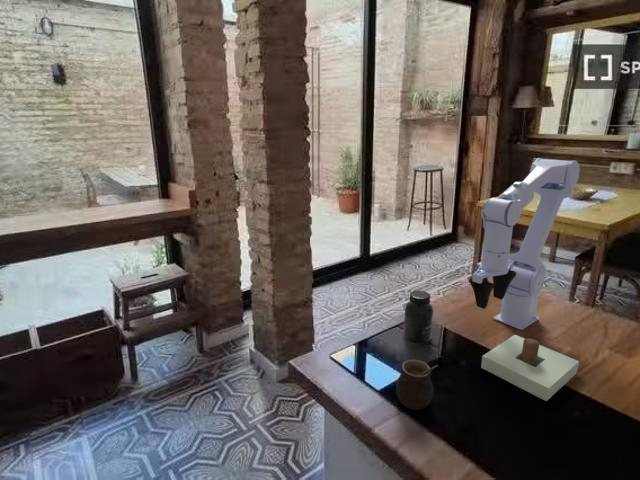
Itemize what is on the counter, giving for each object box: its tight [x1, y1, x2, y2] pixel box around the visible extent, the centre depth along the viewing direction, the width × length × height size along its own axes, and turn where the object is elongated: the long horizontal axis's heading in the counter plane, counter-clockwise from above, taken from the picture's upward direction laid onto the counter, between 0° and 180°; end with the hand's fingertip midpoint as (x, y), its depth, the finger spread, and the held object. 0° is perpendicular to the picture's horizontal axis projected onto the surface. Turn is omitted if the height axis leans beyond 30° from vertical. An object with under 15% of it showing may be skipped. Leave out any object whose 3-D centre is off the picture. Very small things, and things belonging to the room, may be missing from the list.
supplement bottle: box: [403, 290, 434, 345], centre depth 99 cm, size 7×7×12 cm
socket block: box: [480, 334, 580, 402], centre depth 87 cm, size 14×14×3 cm
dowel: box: [521, 337, 540, 367], centre depth 86 cm, size 3×3×7 cm
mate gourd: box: [395, 359, 439, 411], centre depth 77 cm, size 7×8×10 cm
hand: (489, 302), depth 97 cm, fingers open, 7 cm apart
